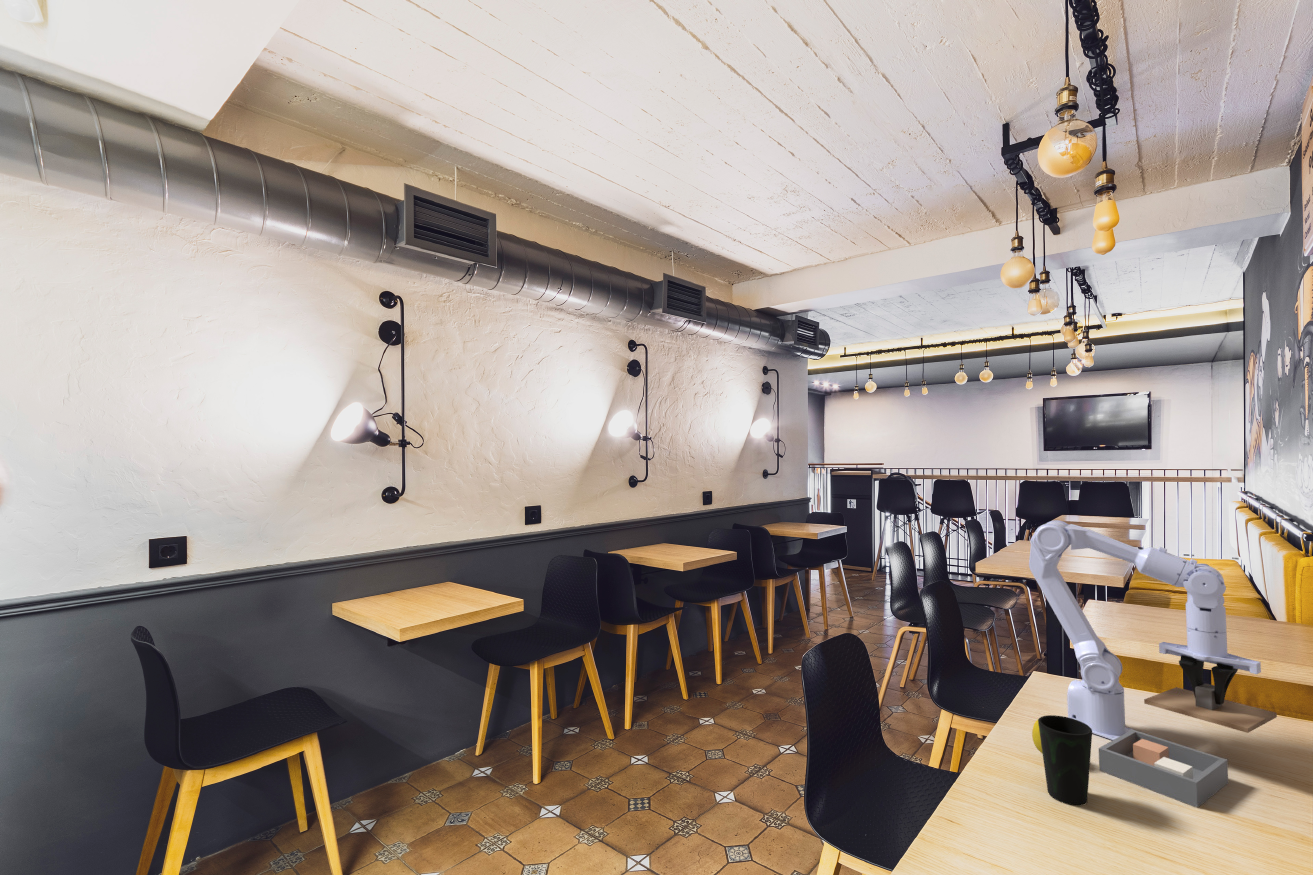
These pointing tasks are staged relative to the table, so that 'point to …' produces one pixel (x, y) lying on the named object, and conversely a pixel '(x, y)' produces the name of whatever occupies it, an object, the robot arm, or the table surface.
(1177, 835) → the table surface
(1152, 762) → the terracotta block
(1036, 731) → the lemon
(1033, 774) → the table surface
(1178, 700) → the lid
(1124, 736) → the box
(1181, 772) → the offwhite block
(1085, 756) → the cup
